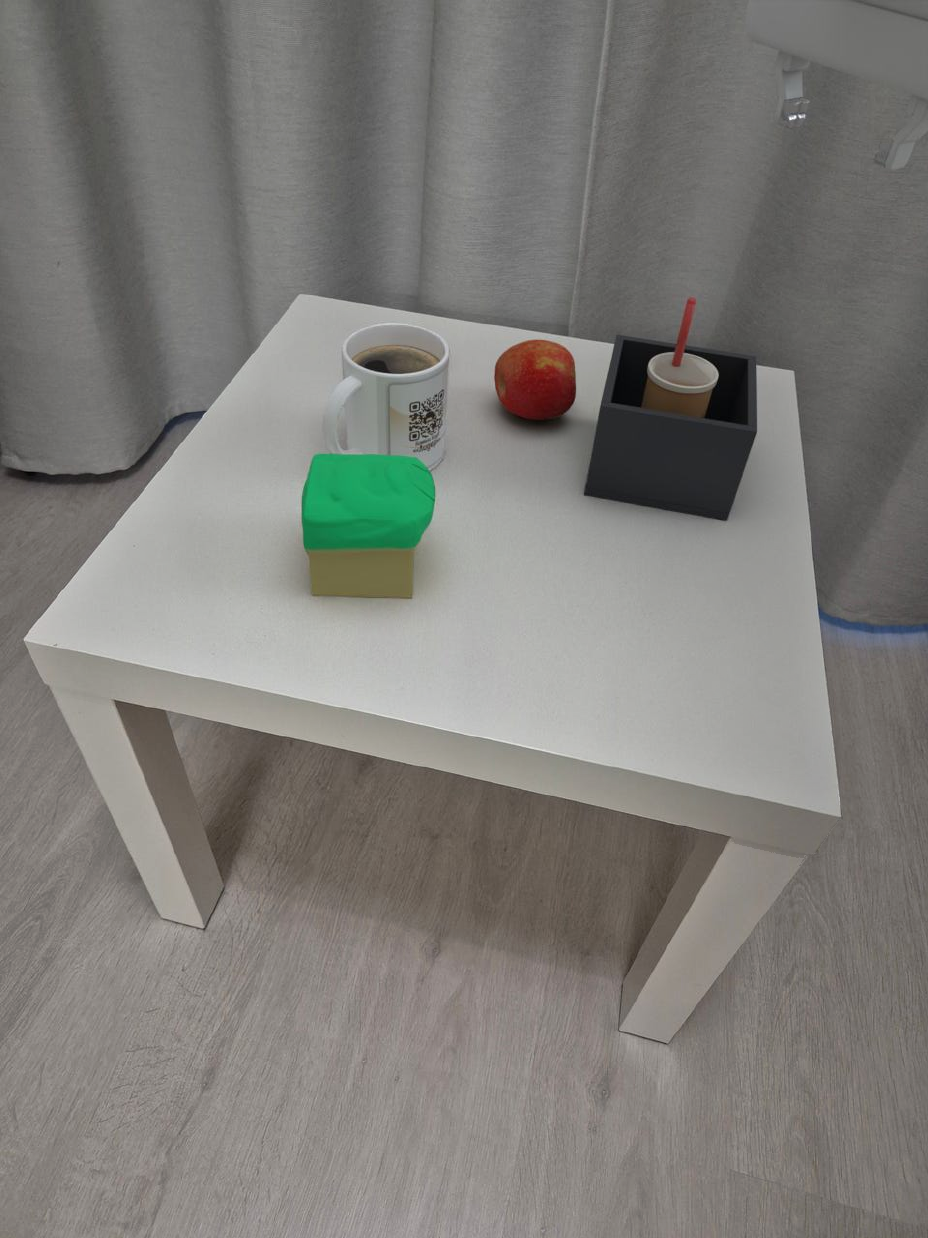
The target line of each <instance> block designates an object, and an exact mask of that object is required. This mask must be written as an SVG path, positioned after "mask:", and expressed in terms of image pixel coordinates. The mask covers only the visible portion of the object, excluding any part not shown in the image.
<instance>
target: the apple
mask: <svg viewBox="0 0 928 1238" xmlns="http://www.w3.org/2000/svg"><path fill="white" fill-rule="evenodd" d="M494 365H495V366H494V374H493V375H494V376H493V379H494V386H495V387H494V388H495V391H496V394H497V397H498V400H499V402H500V404H501V405H502V406H503V408H504V409H505V410H506V411H507V412H508V413H511V414H512V415H515V416H516V417H520V418H522V419H526V420H534V421H545V420H546V421H547V420H551V419H555V418H557V417H560V416H562V415H564V414H566V413H567V412H568V411H570V409H571V408H572V407H573V405H574V403H575V401H576V397H577V375H576V374H577V373H576V372H577V371H576V362H575V359H574V356H573V354H572V353H571V351H569V350H568V348H566V347H565V346H564V345H562V344H561V343H557V342H554V341H551V340H546V339H528V340H525V341H522V342H519V343H516V344H514V345H512V346H511V347H509V348H507V349H506V350H505V351H503V353H501V355H500V356H499V357H498V359H497V361H496V362H495V364H494Z"/></svg>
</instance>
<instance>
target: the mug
mask: <svg viewBox="0 0 928 1238" xmlns="http://www.w3.org/2000/svg"><path fill="white" fill-rule="evenodd" d="M449 347H450V346H449V344H448V343H447V341H446V340H445V339H444V338H443V337H442V336H441V335H439V334H438V333H437V332H435V331H433V330H431V329H428V328H426V327H424V326H419V325H416V324H411V323H405V322H404V323H402V322H384V323H377V324H376V323H375V324H372V325H368V326H364V327H361V328H359V329H357V330H355V331H353V332H352V333H350V334H349V335H348V336H347V337H346V338H345V340H344V341H343V343H342V346H341V366H342V367H341V368H342V380H341V381H340V382H339V383H338V384H337V385H336V386H335V387H334V389H333V390H332V392H331V394H330V395H329V397H328V400H327V402H326V405H325V408H324V412H323V416H322V417H323V418H322V434H323V439H324V440H323V441H324V443H325V445H326V447H327V449H328V450H329V452H330V453H331V454H361V455H362V454H377V455H401V456H409V457H416V458H417V459H419V460H420V461H421V462H422V463H423V464H424V465H425V466H426V467H427V468H428V470H429V471H430V472H431V471H432V470H434V469H435V468H436V467H437V466H438V465H440V463H441V462H442V461H443V459H444V456H445V454H446V444H447V421H448V419H447V418H448V399H449V398H448V397H449V395H448V394H449V373H450V348H449ZM343 407H344V419H345V420H344V421H345V442H346V449H343V448H342V447H341V444H340V443H339V438H338V424H339V423H338V422H339V419H340V415H341V412H342V410H343Z"/></svg>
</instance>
